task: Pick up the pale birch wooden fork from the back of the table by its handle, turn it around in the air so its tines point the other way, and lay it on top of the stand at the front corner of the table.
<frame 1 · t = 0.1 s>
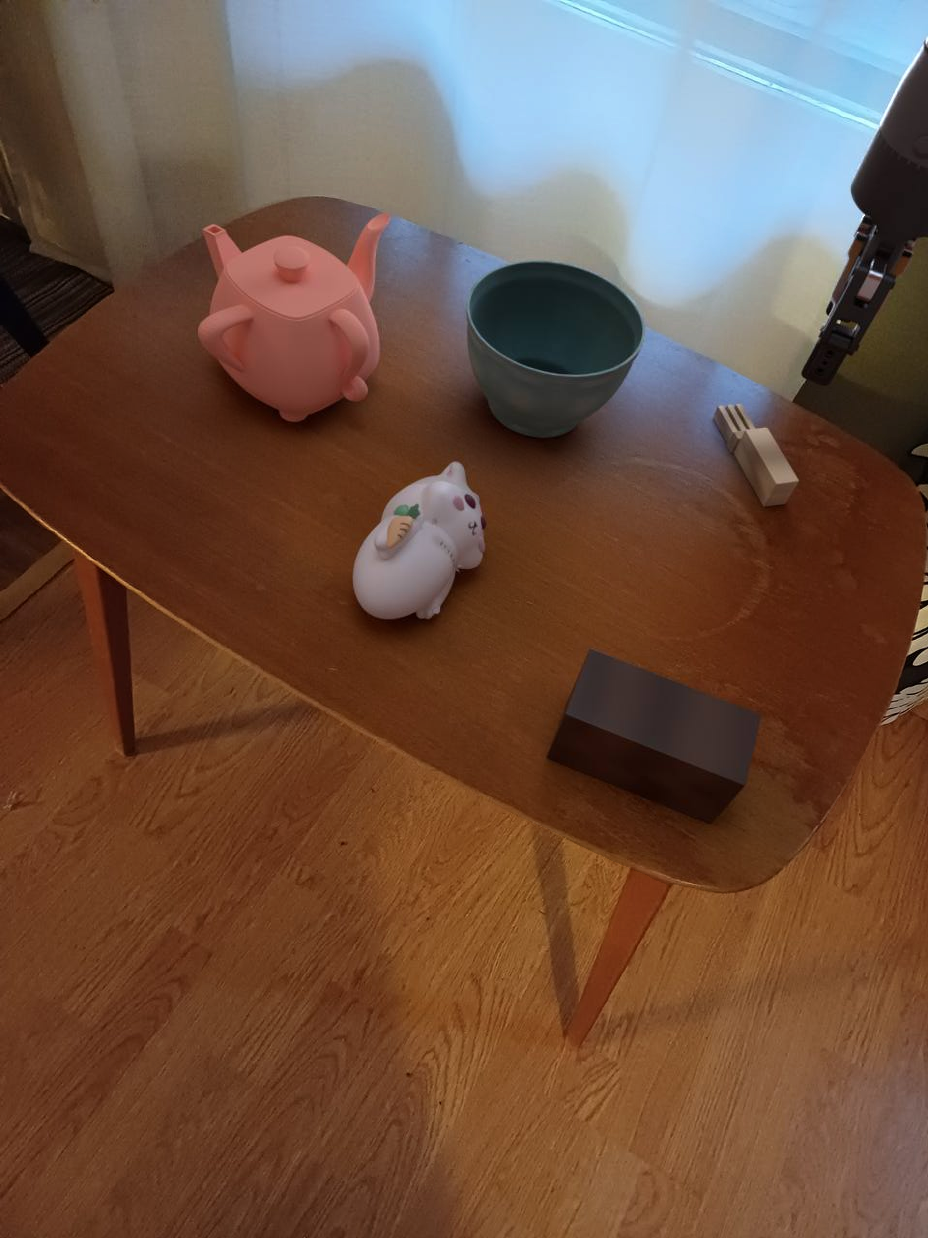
hand: (826, 346, 70), 19 cm above the table, tool pointing down, fingers open, 8 cm apart
flower pot: (534, 406, 91), on the table
fork: (748, 459, 91), on the table
teapot: (298, 370, 90), on the table
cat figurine: (418, 572, 78), on the table
stand: (664, 714, 65), on the table
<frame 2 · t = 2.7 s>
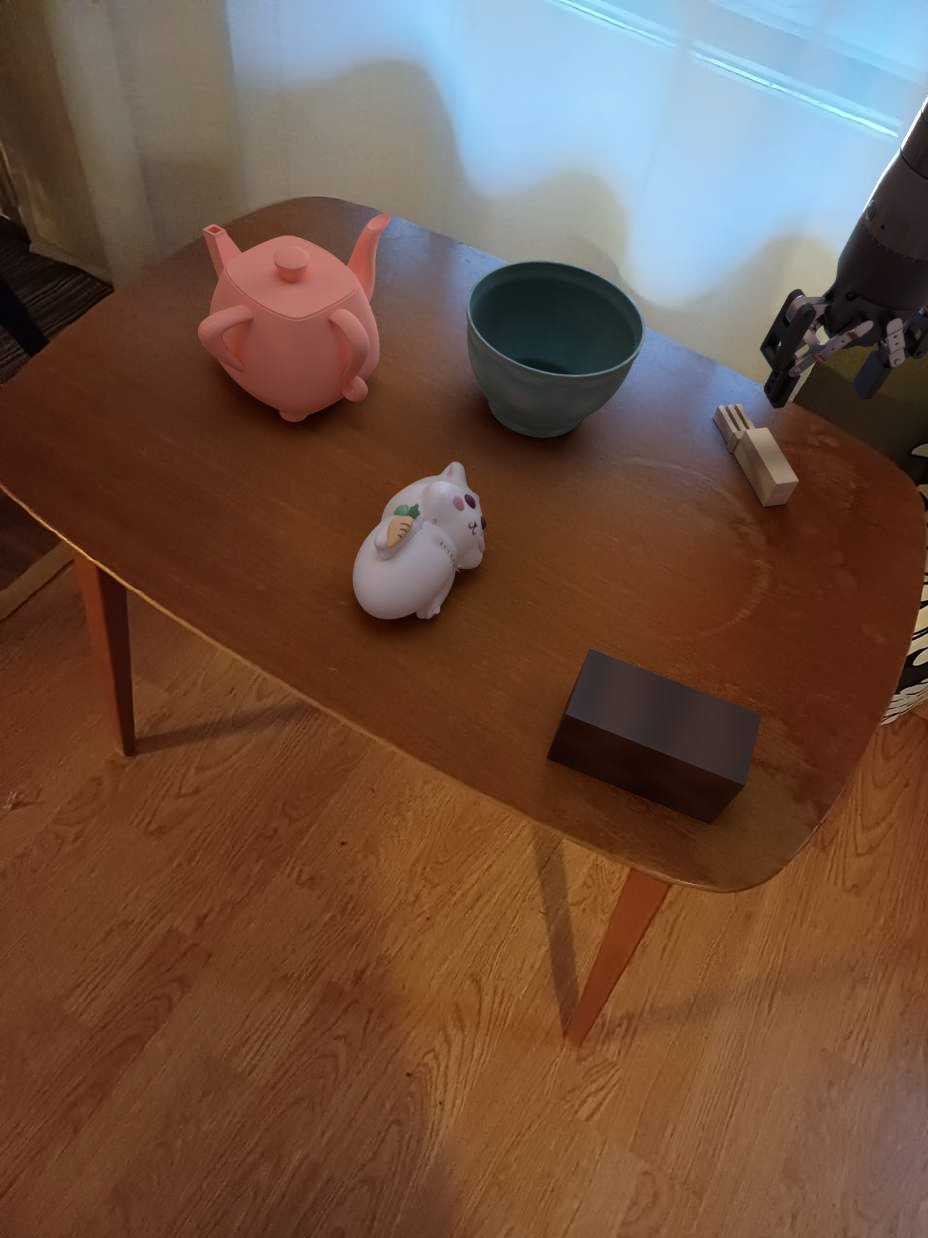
hand: (817, 397, 79), 12 cm above the table, tool pointing down, fingers open, 8 cm apart
nothing on the table moved.
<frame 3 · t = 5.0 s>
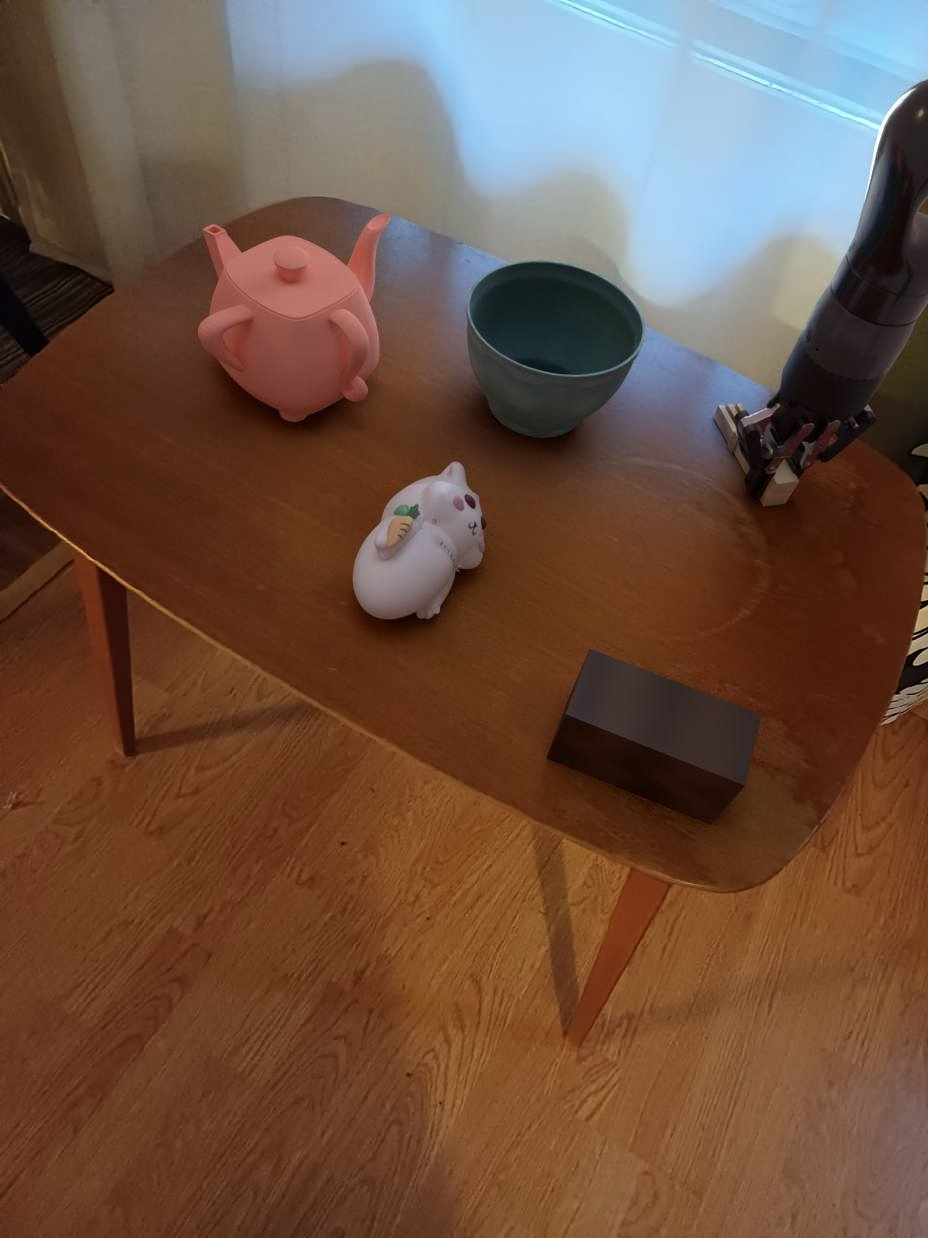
hand: (766, 489, 88), 0 cm above the table, tool pointing down, fingers closed on fork, 2 cm apart
fork: (748, 458, 91), on the table, touching gripper
everything else where it was.
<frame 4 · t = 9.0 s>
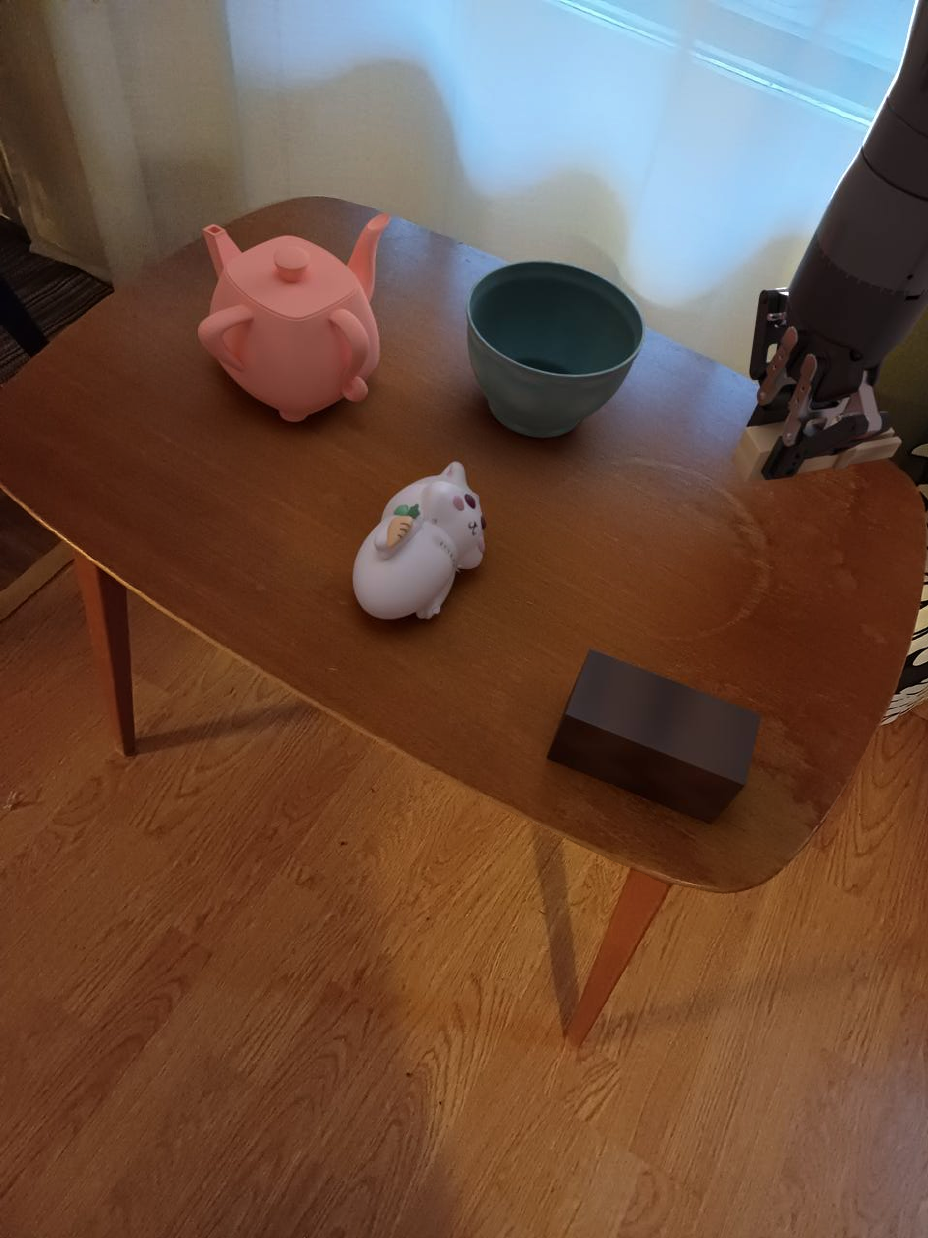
hand: (765, 459, 66), 17 cm above the table, tool pointing down, fingers closed on fork, 2 cm apart
fork: (812, 457, 67), point 17 cm above the table, touching gripper
everything else where it was.
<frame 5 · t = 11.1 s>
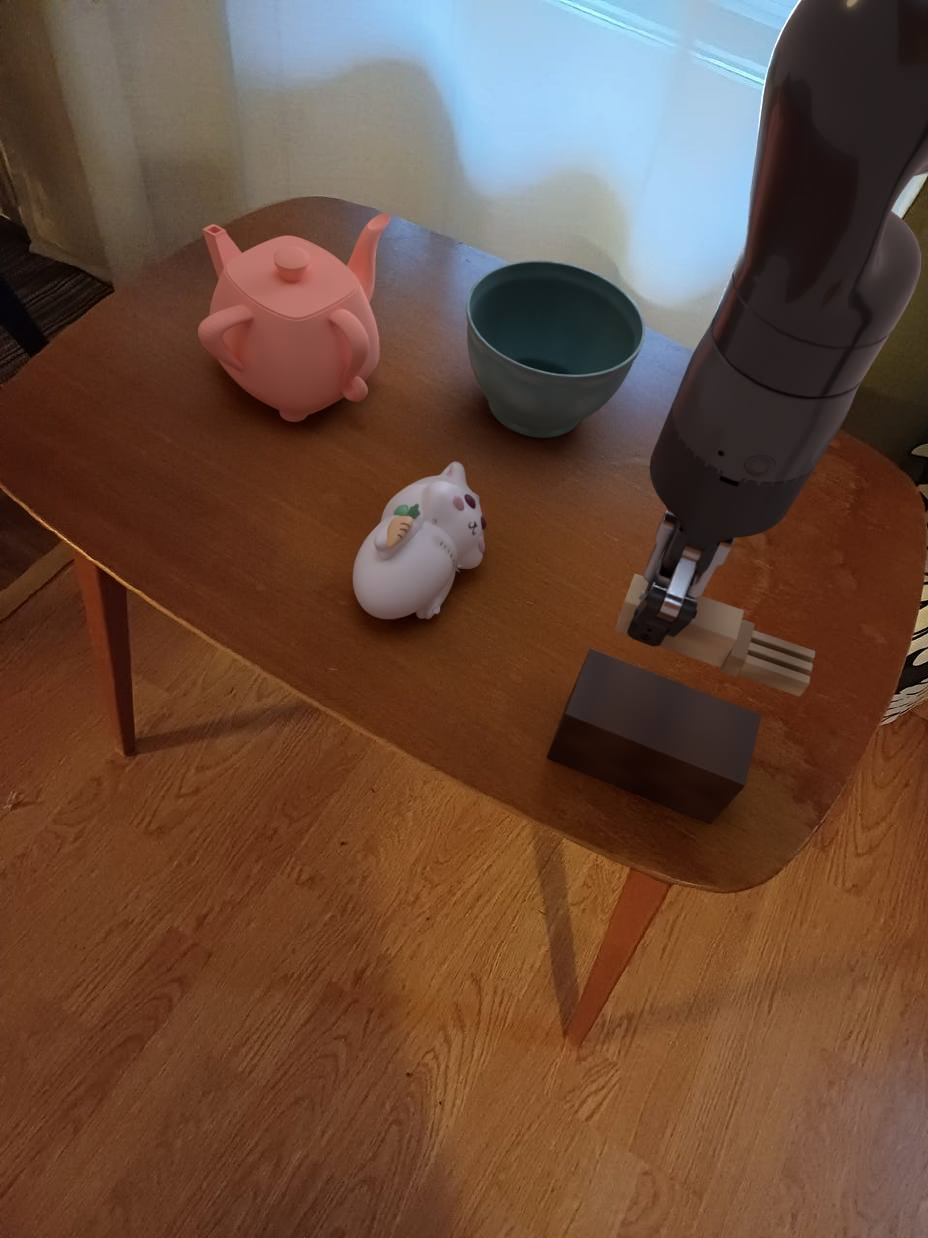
hand: (649, 619, 59), 16 cm above the table, tool pointing down, fingers closed on fork, 2 cm apart
fork: (709, 648, 59), point 15 cm above the table, touching gripper
everything else where it was.
when the fingers open (8 cm above the table, at t = 13.1 s): fork stays where it is, resting on stand.
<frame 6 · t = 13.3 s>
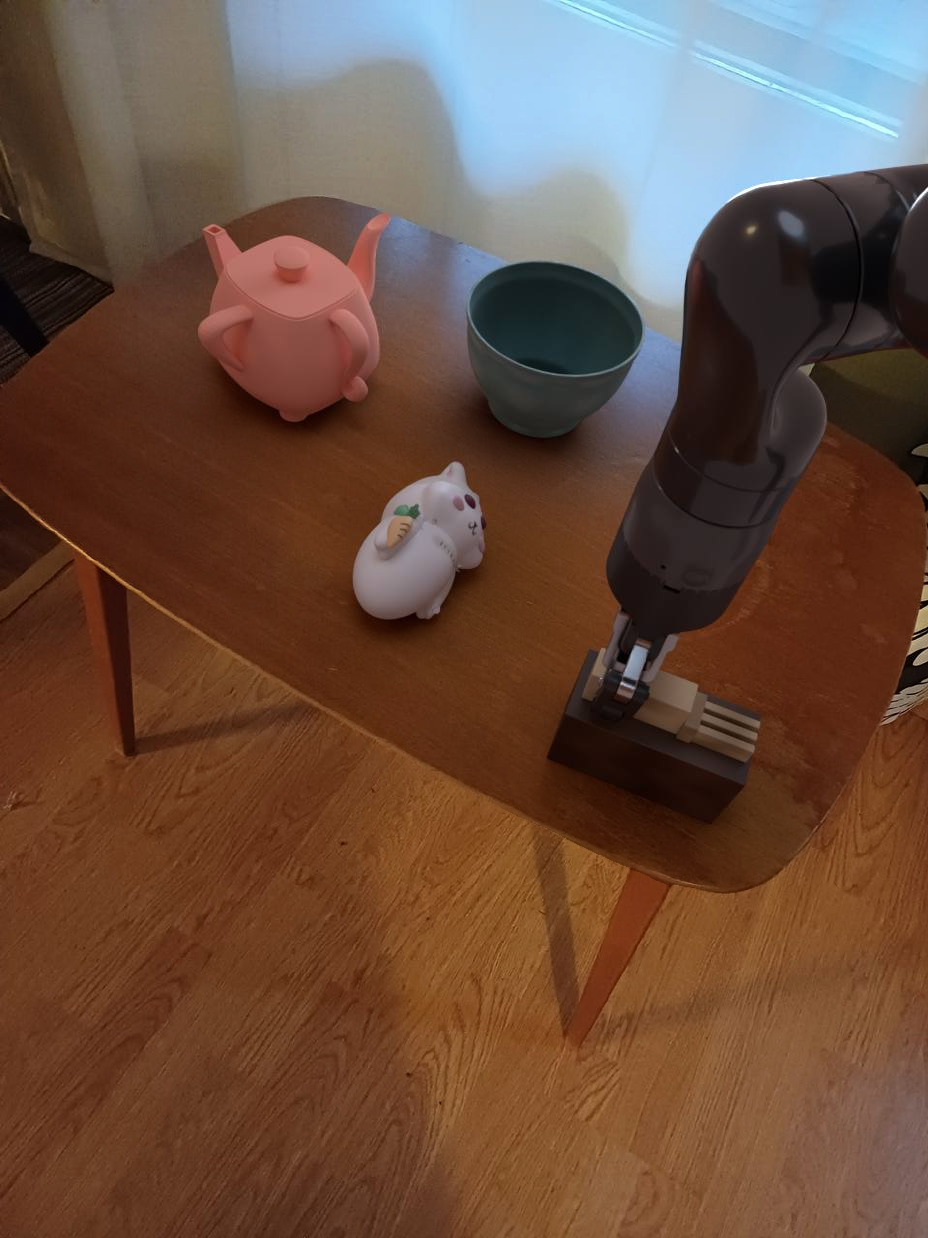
hand: (613, 686, 65), 8 cm above the table, tool pointing down, fingers open, 4 cm apart
fork: (666, 715, 65), point 7 cm above the table, touching stand
everything else where it was.
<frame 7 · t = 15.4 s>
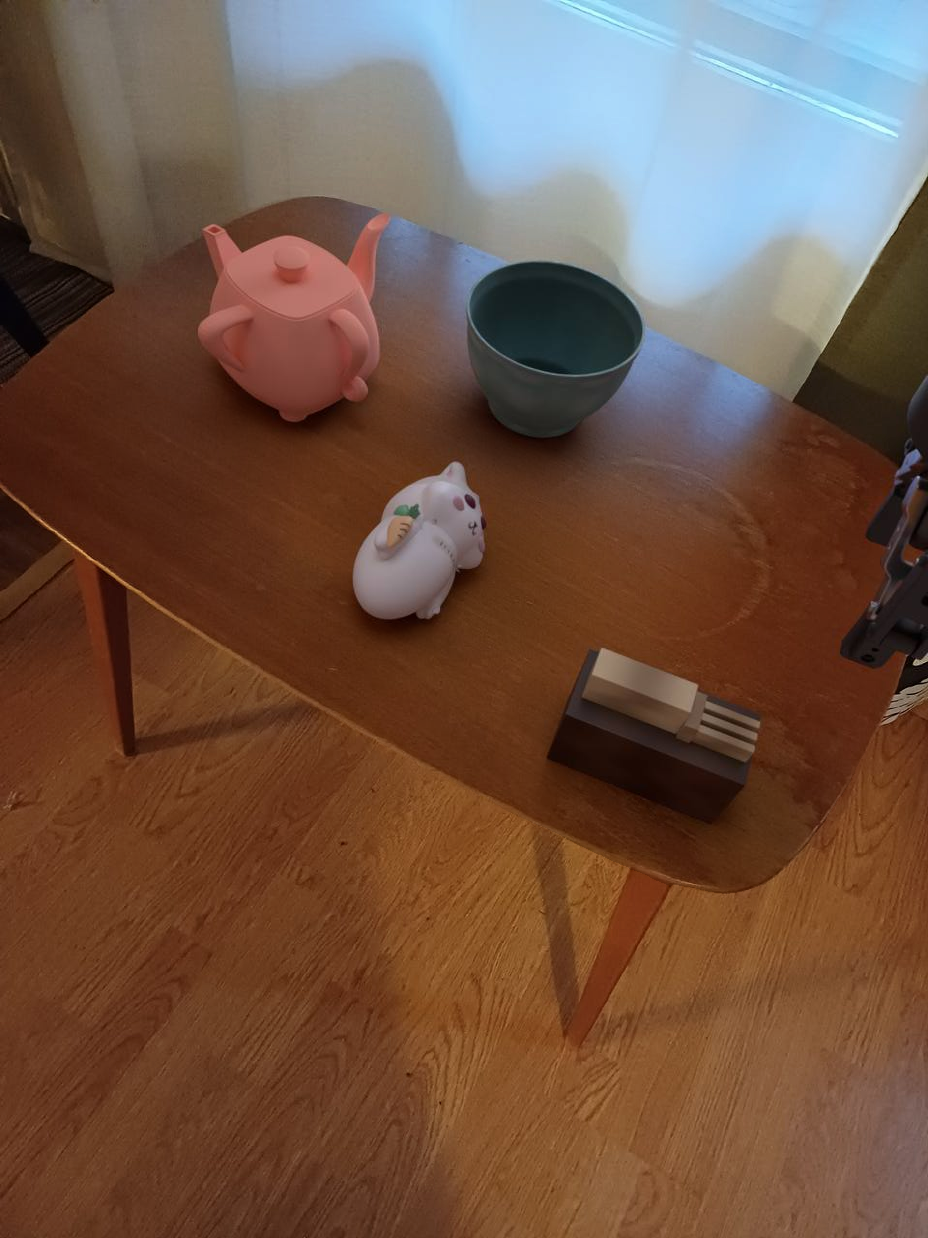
hand: (871, 596, 50), 25 cm above the table, tool pointing down, fingers open, 8 cm apart
nothing on the table moved.
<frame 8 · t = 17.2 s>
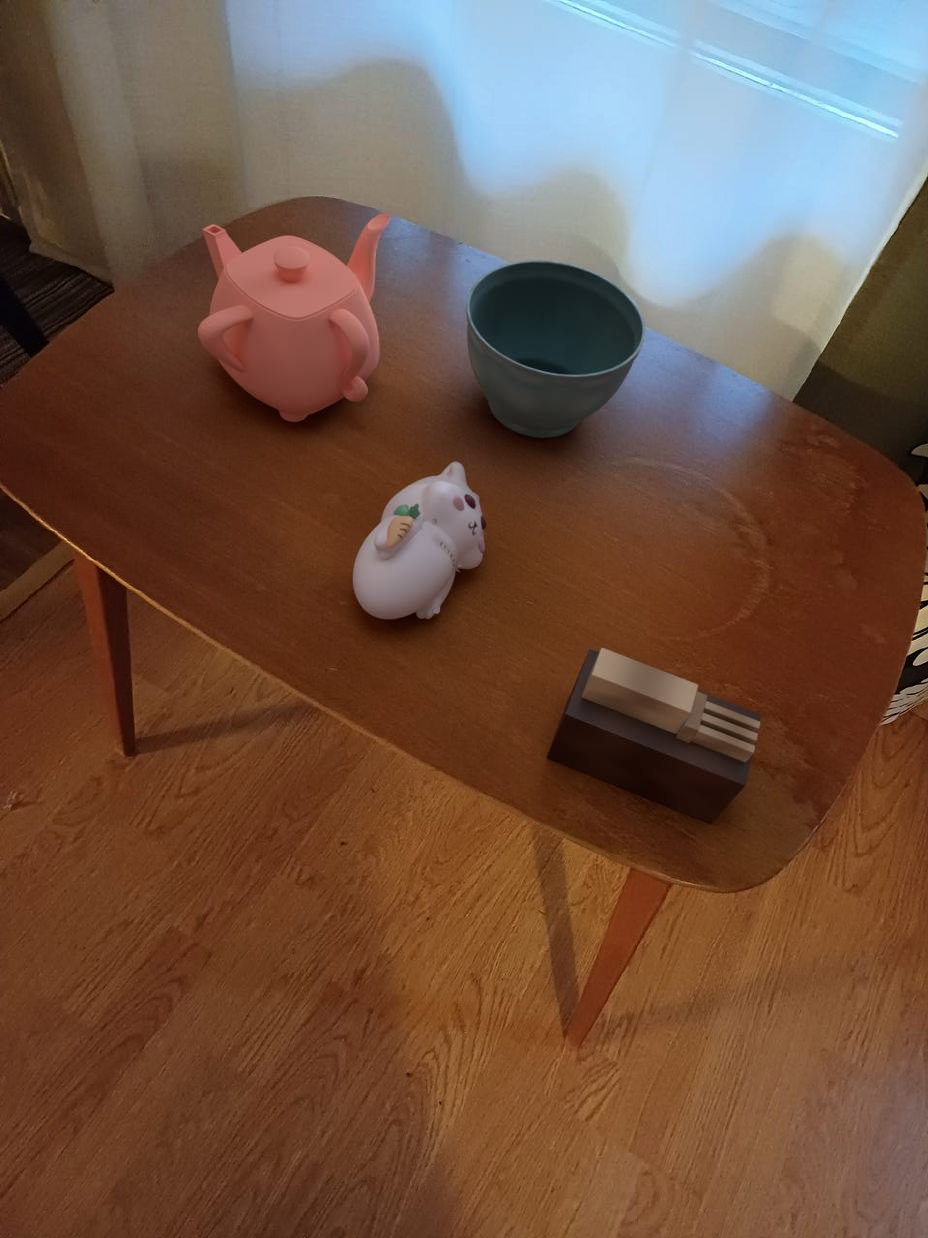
nothing on the table moved.
at the end: fork 0.1 cm off-centre on the stand, point 0.0 cm above the stand's base; fork tilted 0°; the gripper is holding nothing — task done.
